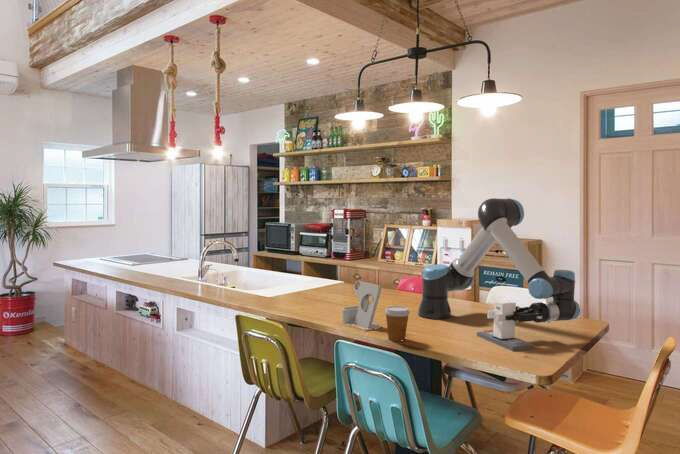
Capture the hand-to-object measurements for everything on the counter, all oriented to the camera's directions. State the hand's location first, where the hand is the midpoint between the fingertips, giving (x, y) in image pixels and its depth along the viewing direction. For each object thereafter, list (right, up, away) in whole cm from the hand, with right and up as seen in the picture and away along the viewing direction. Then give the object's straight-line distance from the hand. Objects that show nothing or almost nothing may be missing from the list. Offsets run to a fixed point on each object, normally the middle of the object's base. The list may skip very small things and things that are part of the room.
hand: (492, 316), depth 177 cm
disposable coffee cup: (-34, -11, +9) cm, 37 cm away
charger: (+5, -8, +2) cm, 10 cm away
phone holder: (-47, -10, +31) cm, 57 cm away
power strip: (+5, -11, +2) cm, 13 cm away
